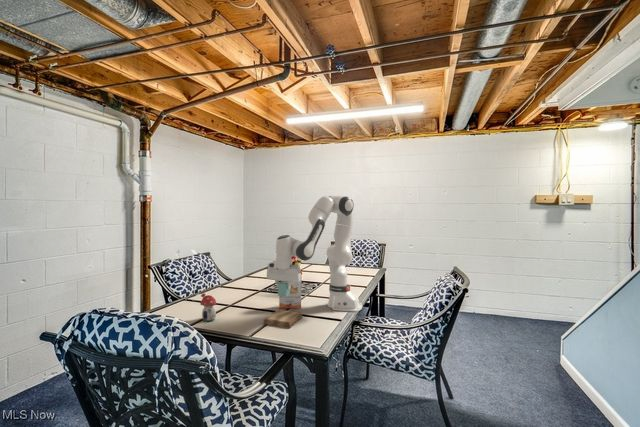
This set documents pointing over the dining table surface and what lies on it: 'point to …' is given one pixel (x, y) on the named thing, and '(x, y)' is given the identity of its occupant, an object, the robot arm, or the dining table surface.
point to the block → (283, 288)
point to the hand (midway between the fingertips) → (283, 288)
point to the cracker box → (291, 297)
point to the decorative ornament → (208, 308)
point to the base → (283, 318)
